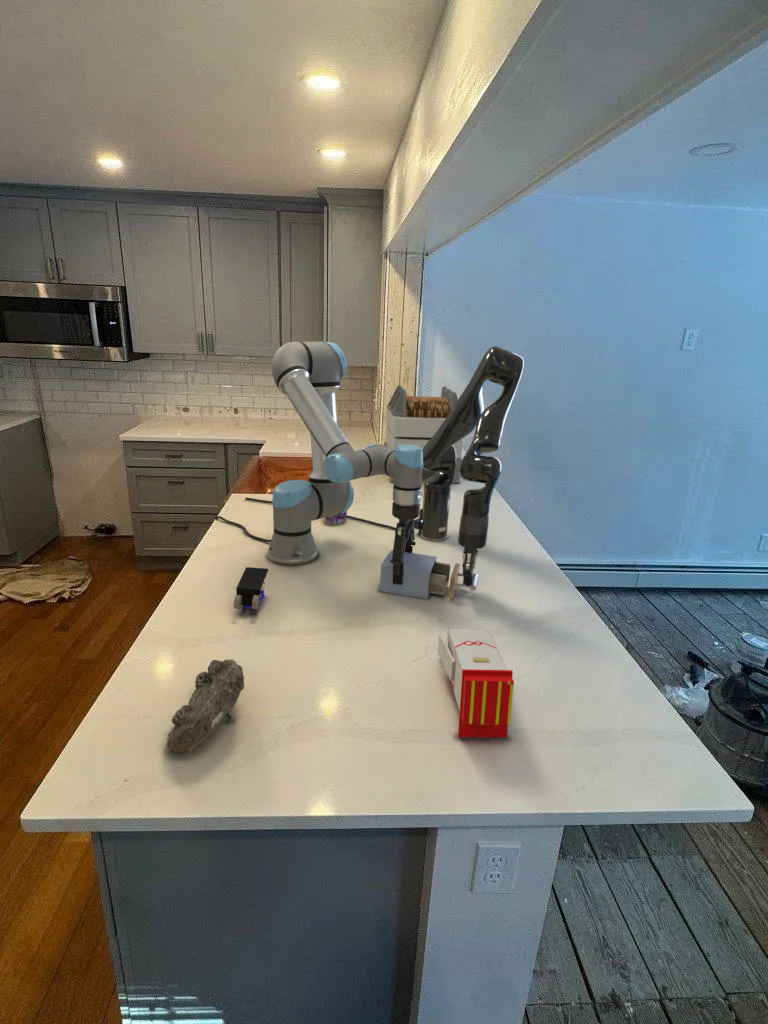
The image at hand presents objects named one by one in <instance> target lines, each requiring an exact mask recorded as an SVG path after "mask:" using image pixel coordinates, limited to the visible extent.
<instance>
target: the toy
mask: <svg viewBox="0 0 768 1024" xmlns="http://www.w3.org/2000/svg"><path fill="white" fill-rule="evenodd" d="M446 640H447V643H446V641H445V639H444V636H443V635H442V634H439V637H438V646H437V656H438V657H439V659H440V661H441V663H442V666H443V668H444V670H445V672H446V674H447V677H448V679H449V681H450V684H451V687H452V690H453V693H454V697H455V701H456V705H457V708H458V711H459V714H458V715H459V716H458V730H457V731H458V732H457V737H458V738H508V731H509V726H510V725H511V717H512V707H513V697H514V696H513V695H514V684H515V680H514V679H513V673H514V671H513V670H512V669H508V667H507V665H506V662H505V661H504V659H503V658H502V655H501V653H500V651H499V649H498V647H497V643H496V639H495V637H494V635H493V634H491V632H490V631H489V629H467V628H466V629H465V628H463V629H461V628H460V629H459V628H448V630H447V639H446Z"/></svg>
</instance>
